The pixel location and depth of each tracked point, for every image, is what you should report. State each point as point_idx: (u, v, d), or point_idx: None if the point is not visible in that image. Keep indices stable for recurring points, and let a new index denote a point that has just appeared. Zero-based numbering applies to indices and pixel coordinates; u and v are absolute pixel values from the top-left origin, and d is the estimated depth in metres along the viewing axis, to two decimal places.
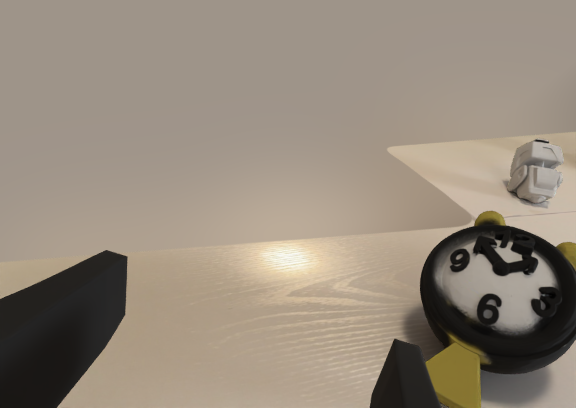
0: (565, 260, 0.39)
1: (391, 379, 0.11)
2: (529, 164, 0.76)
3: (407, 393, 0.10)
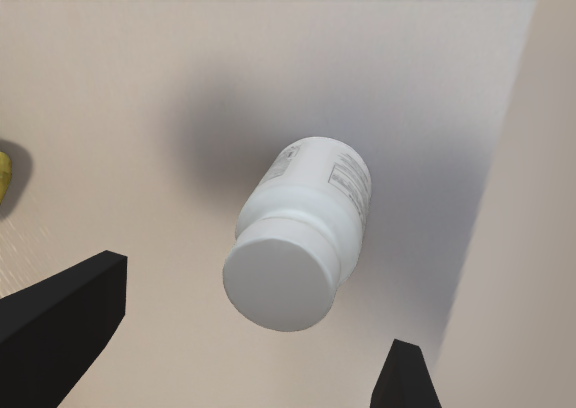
0: None
1: (391, 379, 0.11)
2: None
3: (407, 393, 0.10)
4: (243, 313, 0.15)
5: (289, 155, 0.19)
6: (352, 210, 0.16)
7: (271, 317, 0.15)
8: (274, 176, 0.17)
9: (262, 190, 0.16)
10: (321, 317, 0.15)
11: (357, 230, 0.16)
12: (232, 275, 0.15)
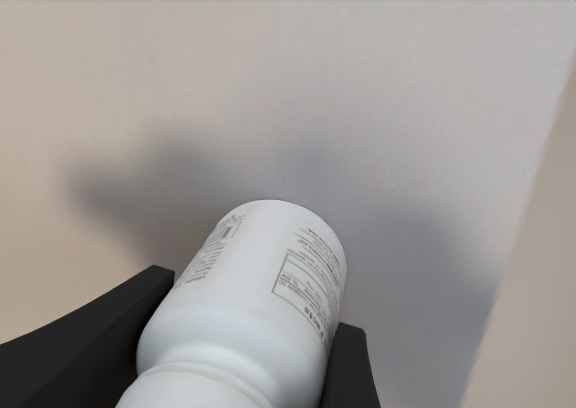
0: None
1: (331, 360, 0.11)
2: None
3: (341, 372, 0.10)
4: None
5: (225, 234, 0.13)
6: (308, 337, 0.11)
7: None
8: (193, 278, 0.11)
9: (170, 306, 0.11)
10: None
11: (316, 369, 0.11)
12: None
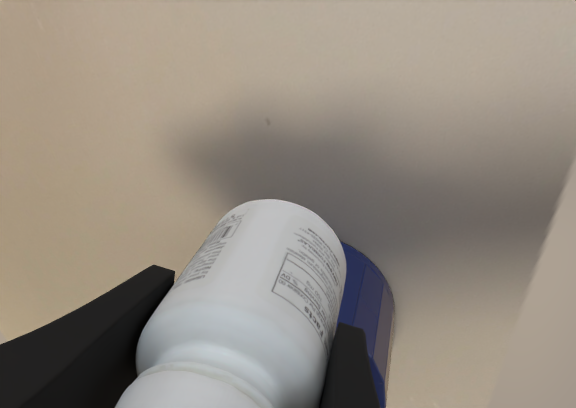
0: None
1: (331, 360, 0.11)
2: None
3: (341, 372, 0.10)
4: None
5: (225, 233, 0.13)
6: (308, 337, 0.11)
7: None
8: (193, 277, 0.11)
9: (169, 306, 0.11)
10: None
11: (315, 368, 0.11)
12: None
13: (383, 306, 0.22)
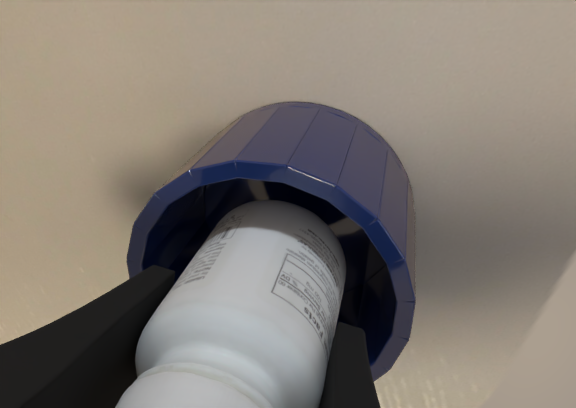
0: None
1: (331, 360, 0.11)
2: None
3: (341, 372, 0.10)
4: None
5: (224, 234, 0.13)
6: (307, 337, 0.11)
7: None
8: (193, 278, 0.11)
9: (169, 307, 0.11)
10: None
11: (315, 369, 0.11)
12: None
13: (409, 206, 0.15)
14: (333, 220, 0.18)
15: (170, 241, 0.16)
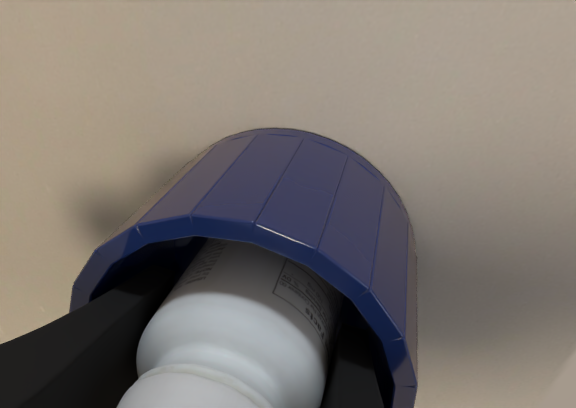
0: None
1: (335, 361, 0.11)
2: None
3: (344, 373, 0.10)
4: None
5: None
6: (308, 338, 0.11)
7: None
8: (194, 279, 0.11)
9: (170, 308, 0.11)
10: None
11: (316, 370, 0.11)
12: None
13: (409, 256, 0.13)
14: None
15: None
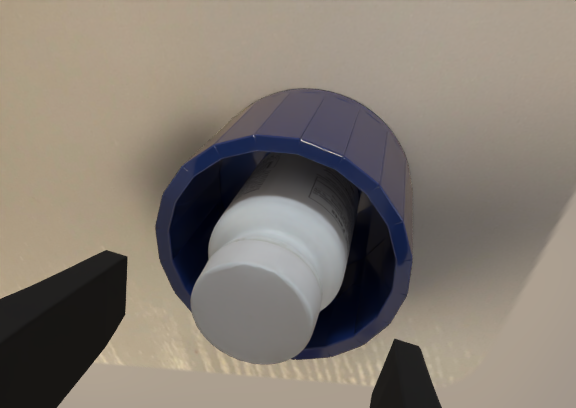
0: None
1: (391, 379, 0.11)
2: None
3: (407, 393, 0.10)
4: (214, 344, 0.14)
5: (268, 165, 0.17)
6: (334, 228, 0.15)
7: (245, 349, 0.14)
8: (250, 190, 0.16)
9: (236, 207, 0.15)
10: (300, 349, 0.13)
11: (340, 250, 0.15)
12: (201, 304, 0.13)
13: (407, 181, 0.17)
14: None
15: (191, 213, 0.18)
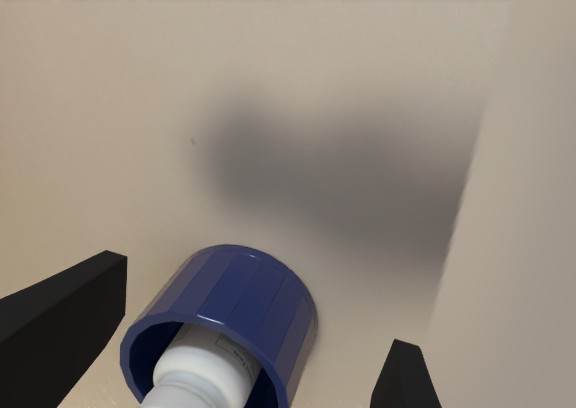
0: None
1: (391, 379, 0.11)
2: None
3: (407, 393, 0.10)
4: None
5: None
6: (233, 366, 0.21)
7: None
8: (178, 338, 0.22)
9: (166, 354, 0.22)
10: None
11: (237, 382, 0.21)
12: None
13: (298, 315, 0.23)
14: None
15: (150, 345, 0.25)
